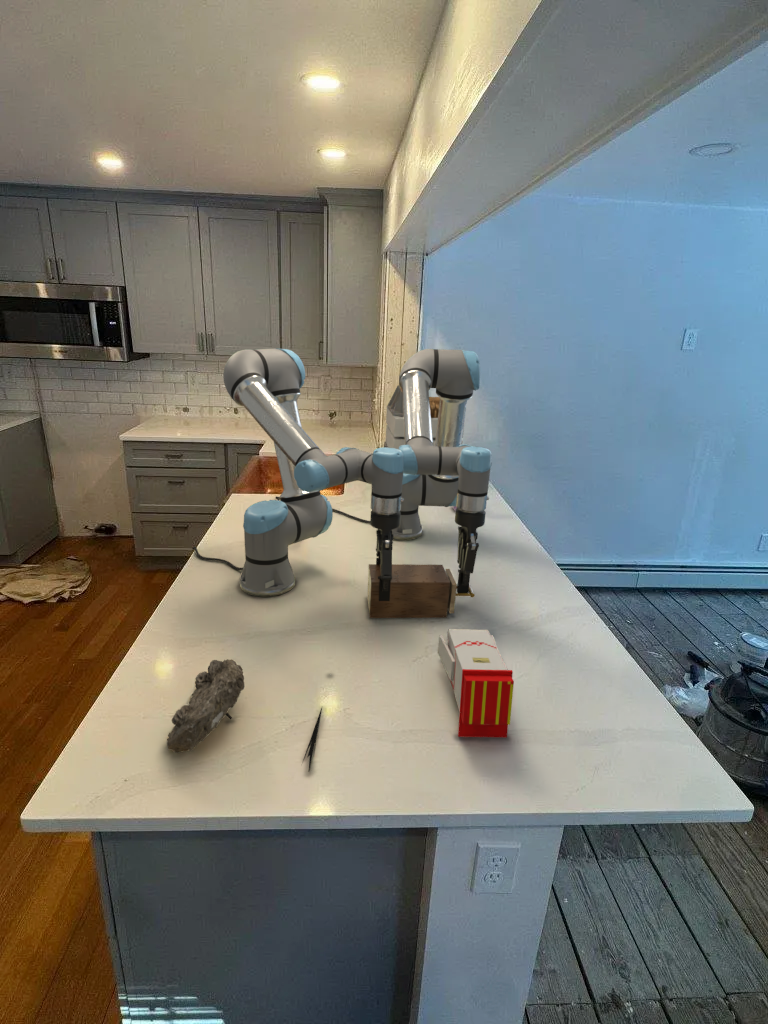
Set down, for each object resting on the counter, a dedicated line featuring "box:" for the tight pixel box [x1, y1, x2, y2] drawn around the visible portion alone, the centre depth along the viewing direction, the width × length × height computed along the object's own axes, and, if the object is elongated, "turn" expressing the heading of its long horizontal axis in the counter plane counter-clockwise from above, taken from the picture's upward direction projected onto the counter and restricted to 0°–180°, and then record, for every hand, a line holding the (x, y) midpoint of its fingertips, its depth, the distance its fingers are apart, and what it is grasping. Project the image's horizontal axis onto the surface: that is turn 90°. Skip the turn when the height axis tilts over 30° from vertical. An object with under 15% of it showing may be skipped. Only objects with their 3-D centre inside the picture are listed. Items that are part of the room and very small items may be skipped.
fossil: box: [166, 658, 245, 754], centre depth 106 cm, size 22×10×15 cm
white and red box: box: [437, 628, 515, 738], centre depth 117 cm, size 12×13×30 cm
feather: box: [301, 673, 332, 771], centre depth 108 cm, size 2×28×2 cm
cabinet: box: [366, 563, 450, 619], centre depth 149 cm, size 20×10×10 cm, turn 95°
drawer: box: [444, 568, 476, 614], centre depth 150 cm, size 24×9×8 cm, turn 95°
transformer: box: [383, 384, 465, 449], centre depth 268 cm, size 34×33×41 cm
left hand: (382, 589), depth 148 cm, fingers closed on cabinet, 10 cm apart
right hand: (462, 592), depth 150 cm, fingers closed
